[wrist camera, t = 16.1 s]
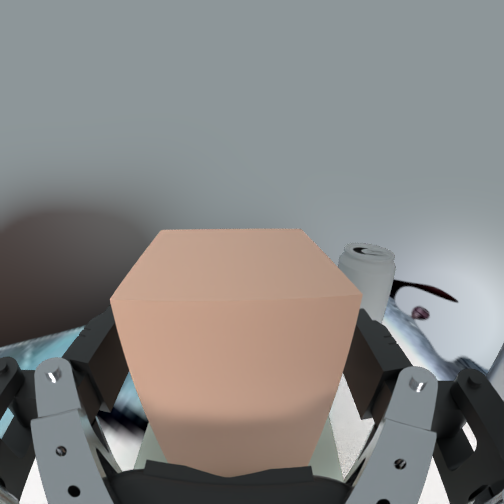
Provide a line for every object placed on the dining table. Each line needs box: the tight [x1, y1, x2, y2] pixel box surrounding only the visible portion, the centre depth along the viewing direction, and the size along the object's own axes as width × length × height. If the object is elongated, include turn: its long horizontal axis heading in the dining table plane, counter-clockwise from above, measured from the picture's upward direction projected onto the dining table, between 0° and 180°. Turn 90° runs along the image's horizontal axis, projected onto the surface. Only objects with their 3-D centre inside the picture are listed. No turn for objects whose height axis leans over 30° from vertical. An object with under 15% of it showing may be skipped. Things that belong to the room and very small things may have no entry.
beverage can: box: [338, 243, 396, 324], centre depth 29 cm, size 6×6×12 cm
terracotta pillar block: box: [110, 229, 363, 477], centre depth 11 cm, size 6×6×10 cm
